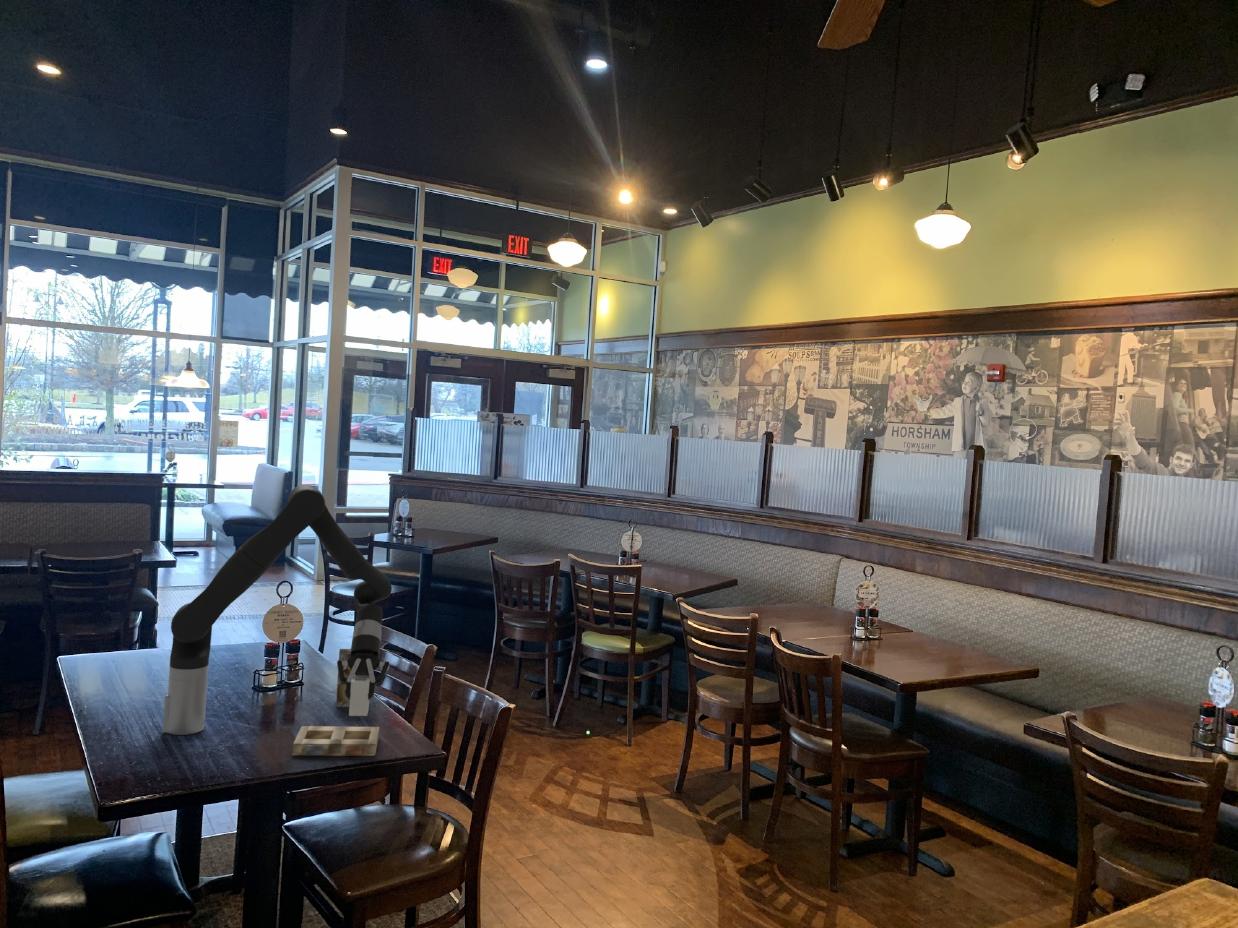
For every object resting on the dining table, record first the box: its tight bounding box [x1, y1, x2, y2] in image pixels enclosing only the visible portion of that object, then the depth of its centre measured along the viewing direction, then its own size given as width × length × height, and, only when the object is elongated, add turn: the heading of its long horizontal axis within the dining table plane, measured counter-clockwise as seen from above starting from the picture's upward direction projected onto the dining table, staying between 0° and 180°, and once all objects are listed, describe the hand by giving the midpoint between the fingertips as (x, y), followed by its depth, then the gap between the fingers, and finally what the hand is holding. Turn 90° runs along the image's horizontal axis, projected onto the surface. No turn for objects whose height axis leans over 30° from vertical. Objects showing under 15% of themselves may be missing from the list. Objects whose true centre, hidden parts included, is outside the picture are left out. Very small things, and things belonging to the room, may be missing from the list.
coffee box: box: [335, 648, 368, 708], centre depth 261 cm, size 9×6×16 cm
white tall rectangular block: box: [348, 675, 370, 717], centre depth 227 cm, size 4×4×10 cm
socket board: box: [292, 725, 380, 757], centre depth 226 cm, size 20×14×3 cm
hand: (359, 697), depth 225 cm, fingers closed on white tall rectangular block, 4 cm apart
